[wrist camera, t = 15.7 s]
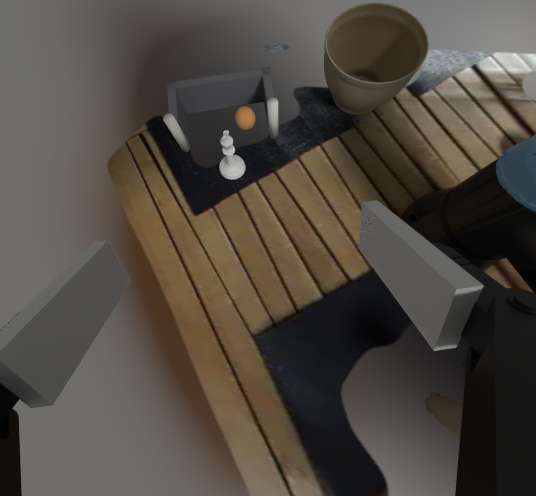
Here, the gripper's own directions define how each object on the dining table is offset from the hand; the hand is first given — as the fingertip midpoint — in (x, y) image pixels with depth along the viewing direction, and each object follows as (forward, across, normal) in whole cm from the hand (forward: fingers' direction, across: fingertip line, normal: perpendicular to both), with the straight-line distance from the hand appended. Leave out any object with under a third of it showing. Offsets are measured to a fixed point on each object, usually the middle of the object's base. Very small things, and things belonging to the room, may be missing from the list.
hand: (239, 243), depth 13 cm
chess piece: (+37, -3, -5) cm, 38 cm away
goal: (+44, -3, +2) cm, 44 cm away
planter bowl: (+46, +23, +4) cm, 51 cm away
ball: (+42, 0, +3) cm, 42 cm away
